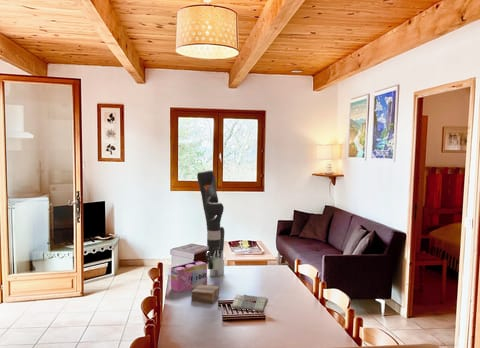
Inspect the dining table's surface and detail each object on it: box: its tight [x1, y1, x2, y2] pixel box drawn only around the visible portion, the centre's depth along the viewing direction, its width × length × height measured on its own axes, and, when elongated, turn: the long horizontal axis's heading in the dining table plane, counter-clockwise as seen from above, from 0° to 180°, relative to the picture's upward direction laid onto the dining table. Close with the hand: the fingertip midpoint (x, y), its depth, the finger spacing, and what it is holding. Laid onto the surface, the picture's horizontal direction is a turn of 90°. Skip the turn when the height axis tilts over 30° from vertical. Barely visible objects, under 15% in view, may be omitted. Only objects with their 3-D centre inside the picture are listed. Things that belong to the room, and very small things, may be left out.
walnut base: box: [191, 284, 220, 305], centre depth 210 cm, size 12×12×6 cm
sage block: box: [207, 257, 220, 271], centre depth 210 cm, size 5×5×6 cm
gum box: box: [170, 260, 208, 293], centre depth 230 cm, size 24×8×14 cm, turn 136°
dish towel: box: [230, 294, 269, 313], centre depth 203 cm, size 19×18×3 cm
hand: (213, 267), depth 210 cm, fingers closed on sage block, 5 cm apart
